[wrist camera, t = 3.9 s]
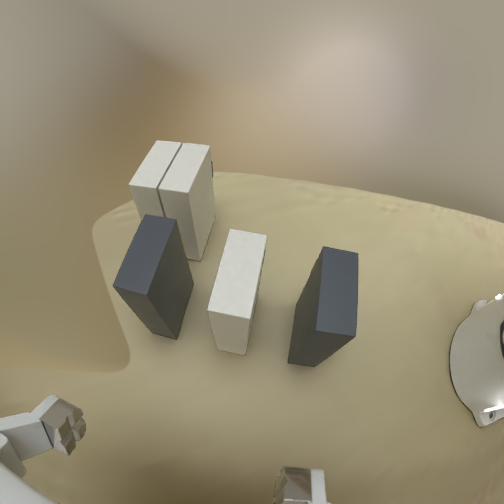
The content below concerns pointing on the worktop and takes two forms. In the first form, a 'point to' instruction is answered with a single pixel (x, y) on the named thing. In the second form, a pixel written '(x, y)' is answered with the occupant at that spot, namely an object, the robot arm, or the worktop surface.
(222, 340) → the white book
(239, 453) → the worktop surface
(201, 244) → the white book
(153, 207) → the white book
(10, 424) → the robot arm
